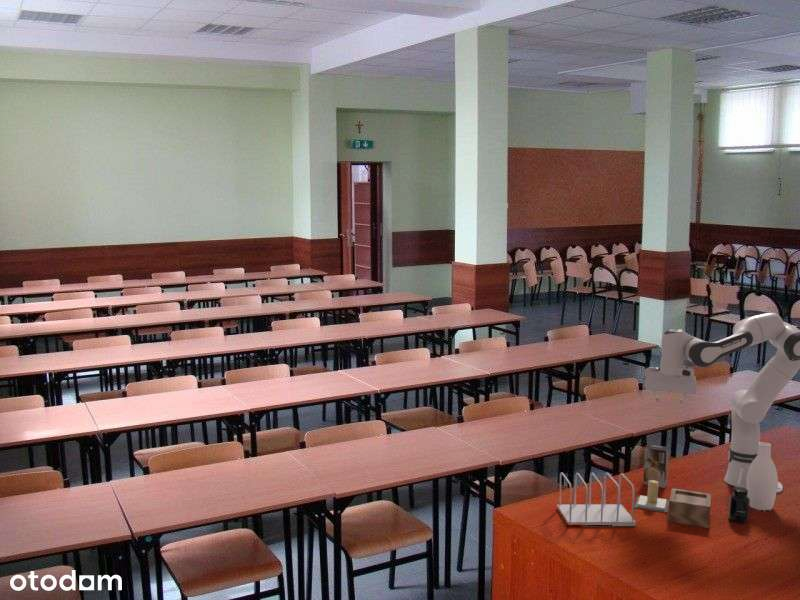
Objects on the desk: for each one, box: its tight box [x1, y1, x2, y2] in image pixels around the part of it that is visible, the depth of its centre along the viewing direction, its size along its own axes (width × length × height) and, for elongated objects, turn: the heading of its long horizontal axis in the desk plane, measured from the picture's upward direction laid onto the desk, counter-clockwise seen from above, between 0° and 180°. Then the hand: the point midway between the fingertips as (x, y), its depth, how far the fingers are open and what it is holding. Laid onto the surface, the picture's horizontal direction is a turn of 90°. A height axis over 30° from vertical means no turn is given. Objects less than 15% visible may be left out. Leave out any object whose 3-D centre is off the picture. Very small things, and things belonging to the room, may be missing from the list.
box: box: [667, 487, 712, 529], centre depth 289 cm, size 14×14×8 cm
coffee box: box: [642, 443, 669, 489], centre depth 324 cm, size 9×6×16 cm
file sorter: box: [556, 472, 637, 527], centre depth 288 cm, size 25×17×16 cm
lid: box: [637, 480, 668, 511], centre depth 301 cm, size 10×10×9 cm
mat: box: [634, 496, 670, 514], centre depth 302 cm, size 12×12×1 cm
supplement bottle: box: [727, 486, 750, 524], centre depth 288 cm, size 7×7×12 cm
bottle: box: [746, 441, 779, 512], centre depth 301 cm, size 11×11×25 cm
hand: (669, 402), depth 313 cm, fingers open, 8 cm apart
